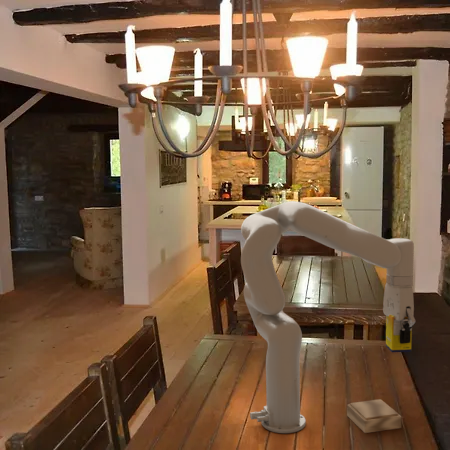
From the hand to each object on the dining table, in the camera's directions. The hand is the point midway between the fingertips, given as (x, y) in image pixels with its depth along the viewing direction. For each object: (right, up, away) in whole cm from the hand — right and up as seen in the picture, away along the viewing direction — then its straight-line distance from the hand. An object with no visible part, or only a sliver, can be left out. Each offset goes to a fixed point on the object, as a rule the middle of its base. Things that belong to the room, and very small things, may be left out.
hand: (398, 338), depth 167 cm
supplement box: (0, -3, 0) cm, 3 cm away
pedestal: (-9, -22, -7) cm, 25 cm away
